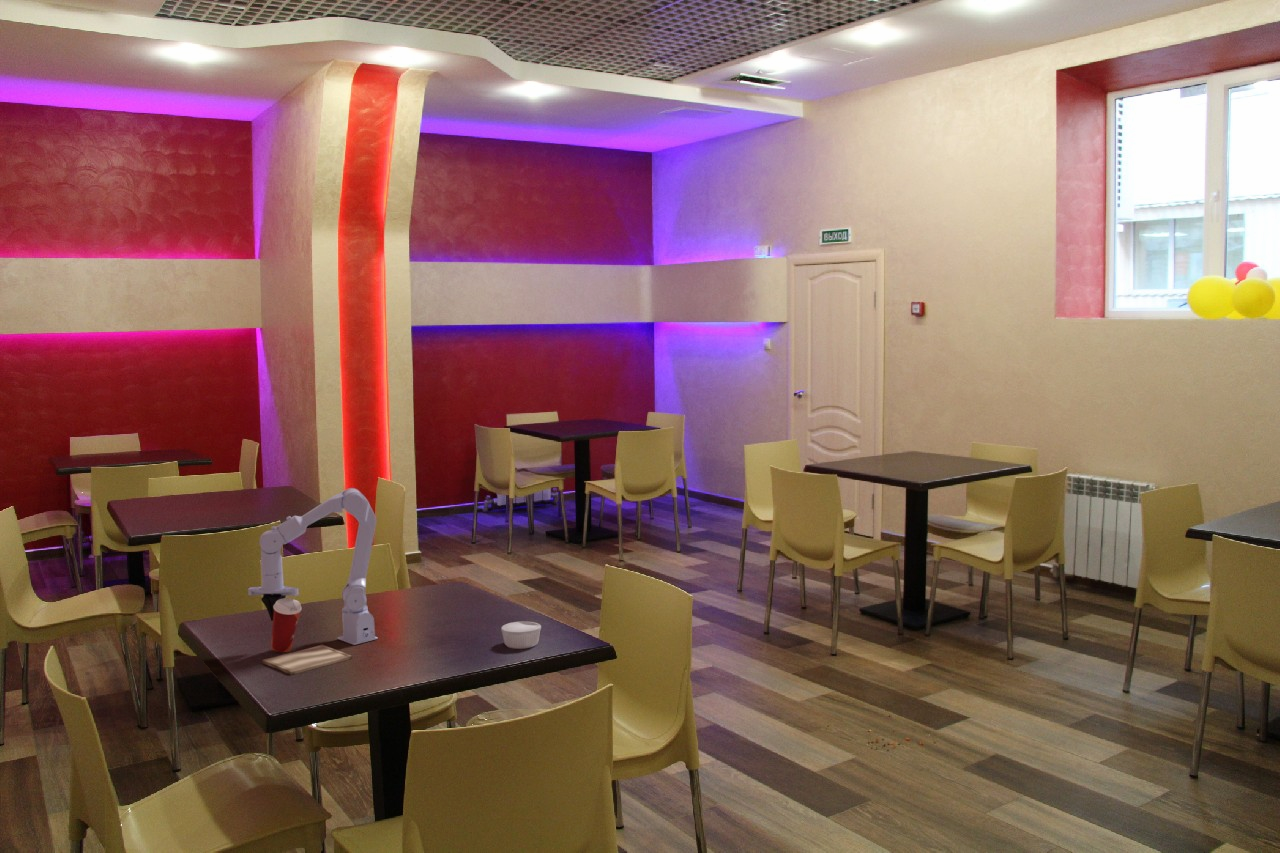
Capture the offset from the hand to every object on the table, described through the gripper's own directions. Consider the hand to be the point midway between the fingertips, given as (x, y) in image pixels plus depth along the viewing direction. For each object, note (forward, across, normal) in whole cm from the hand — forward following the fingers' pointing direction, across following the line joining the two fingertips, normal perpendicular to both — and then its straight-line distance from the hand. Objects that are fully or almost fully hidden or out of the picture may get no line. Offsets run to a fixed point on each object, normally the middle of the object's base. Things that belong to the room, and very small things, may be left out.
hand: (274, 619), depth 300 cm
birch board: (+8, -15, +10) cm, 20 cm away
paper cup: (+8, -2, +2) cm, 8 cm away
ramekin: (+9, -70, -11) cm, 71 cm away
